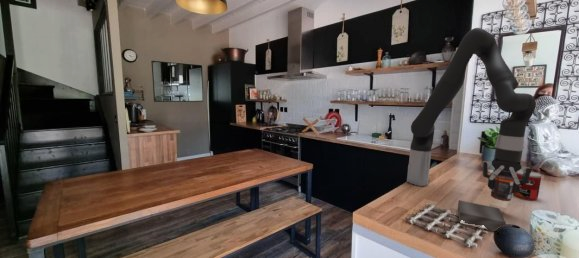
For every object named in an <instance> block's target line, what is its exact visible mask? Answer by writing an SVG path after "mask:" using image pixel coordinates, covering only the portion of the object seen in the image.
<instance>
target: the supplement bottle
mask: <svg viewBox="0 0 579 258" xmlns="http://www.w3.org/2000/svg"><path fill="white" fill-rule="evenodd" d="M493 180H494V182H493V188H492V189H490V190H491V191H490V196H491V197H492V198H493V199H494V200H498V201H502V202H510V201H511V200H512V197H513V196H512V195H513V193H512V191H513V185H514V179H513V177H512V175H511V172H510V171H505V170H502V171H501V172H500V173H499V174H498V175H497V176H496V177H495V178H494V179H493Z"/></svg>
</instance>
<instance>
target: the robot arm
mask: <svg viewBox="0 0 579 258" xmlns="http://www.w3.org/2000/svg"><path fill="white" fill-rule="evenodd" d="M473 55H476V56H477V57H478V59H480V61H482V63H483V65H484V67H485V73H486V77H487V80H488V81H489V83H490V85H491V87H492V88H493V90H494V94H495V101H496V104H497V107H498V108H499V109H500V110H501V111H502V112H504V113H509V114H510V113H511V114H510V116H509V117H508V118H506V119H502V120H501V122H500V124H499V131H498V135H497V138H496V142H495V149H494V155H493V159H492V160H491V161H486V160H483V161H482V175H483V178H487V179H488V180H487V188H489V190H492V188H493V182H494V180H493V179H494V178H495V177H496V176H497V175H498V174H499V173H500V172H501V171H502V170H505V171H510V172H511V175H512V177H513V179H514V185H513V191H512V195H514V194H515V192H516V193H517V192H518V188H519V184H526V183H527V181H528V178H529V176H530V173H531V172H532V169H531V167H530V166H522V163H521V162H522V157H523V151H524V147H525V146H524V145H525V134H526V129H527V128H526V127H527V124H528V123H529V121H530V120H531V118H532V116H533V114H534V112H535V110H536V106H537V101H536V99H535V96H533V95H532V94H530V93H519V92H516V91H515V90H516V89H517V88H518V87H519V81H518V80H517V78H516V76H515V75H514V74H513V72H512V70H511V69H510V67H509V66H508V65H507V63H506V61H505V59H504V58H503V56H502V54H501V51H500V49H499V46H498V43H497V41H496V38H495V36H494V35H493V33H491V32H489V31H487V30H485V29H483V28H481V27H475V28H472V29H470V30H469V31H468V32H467V33H465V35H464V36H463V38H462V39H461V41H460V43H459V45H458V46H457V49H456V51H455V53H454V55H453V57H452V59H451V61H450V62H449V64H448V66H447V67H446V69H445V71H444V72H443V74H442V75H441V77H440V79H439V80H438V82H437V83H436V85H435V87H434V88H433V90H432V92H431V93H430V96H429V97H428V100H427V101H426V103H425V105H424V107H423V108H422V109H421V111H420V112H419V113H418V114H417V116H416V117H415V119H413V121H412V122H411V125H410V131H411V133H412V139H411V140H412V141H411V143H410V149H409V158H408V159H409V160H408V166H407V176H406V183H407V182H409V183H408V184H411V185H413V184H414V186H418V187H420V186H421V187H424V186H428V185H429V176H430V168H431V167H430V166H431V159H432V158H431V157H432V147H433V144H434V137H435V123H436V121H437V119H438V118H439V116H440V114H441V113H442V112H443V111H444V110H445V109H446V108H447V107H448V106H449V105H450V104H451V102H452V101H453V100H454V99H455V97H457V95H458V93H459V91H460V90H461V88H462V86H463V85H464V82H465V78H466V77H465V76H466V71H467V67H468V64H469V62H470V60H471V59H472V57H473ZM491 165H492V167H493V168H494V169H493V170H492V171H491V173H490V174H489V173H488V168H489V167H491ZM517 171H522V172H523V175H522V178H521V179H520V180H518V177H517V175H516V172H517Z"/></svg>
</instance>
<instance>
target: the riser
mask: <svg viewBox="0 0 579 258" xmlns="http://www.w3.org/2000/svg"><path fill="white" fill-rule="evenodd" d="M457 201H458V202H457V203H458V204H457V217H458V216H459V220H458V222H459V221H461V220H463V221H465V223H468V224H475V225H484V226H485V227H486V228H487V229H488V230H487V231H489V230H490V231H489V232H493V233H495V232H494V231H495V230H496V229H497V228H498V227H500V226H503V225H505V226H506V224H507V223H506V222H507V221H506V219H505V218H504V216H503V214H502V212H501V209H500V208H499V207H494V206H489V205H484V204H479V203H475V202H469V201H465V200H457Z"/></svg>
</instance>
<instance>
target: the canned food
mask: <svg viewBox="0 0 579 258" xmlns="http://www.w3.org/2000/svg"><path fill="white" fill-rule="evenodd" d="M516 175H517V177H518V180H520V179H521V178H522V175H523V172H522V170H519V171H517V172H516ZM541 182H542V175H541V174H540V173H538V172H532V171H531V173H530V176H529V178H528V181H527V183H526V184H519V188H518V192H517V193H516V192H515V194H513V197H516V198H518V199H521V200H527V201H537V200H538V198H539V194H540V188H541Z"/></svg>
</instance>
